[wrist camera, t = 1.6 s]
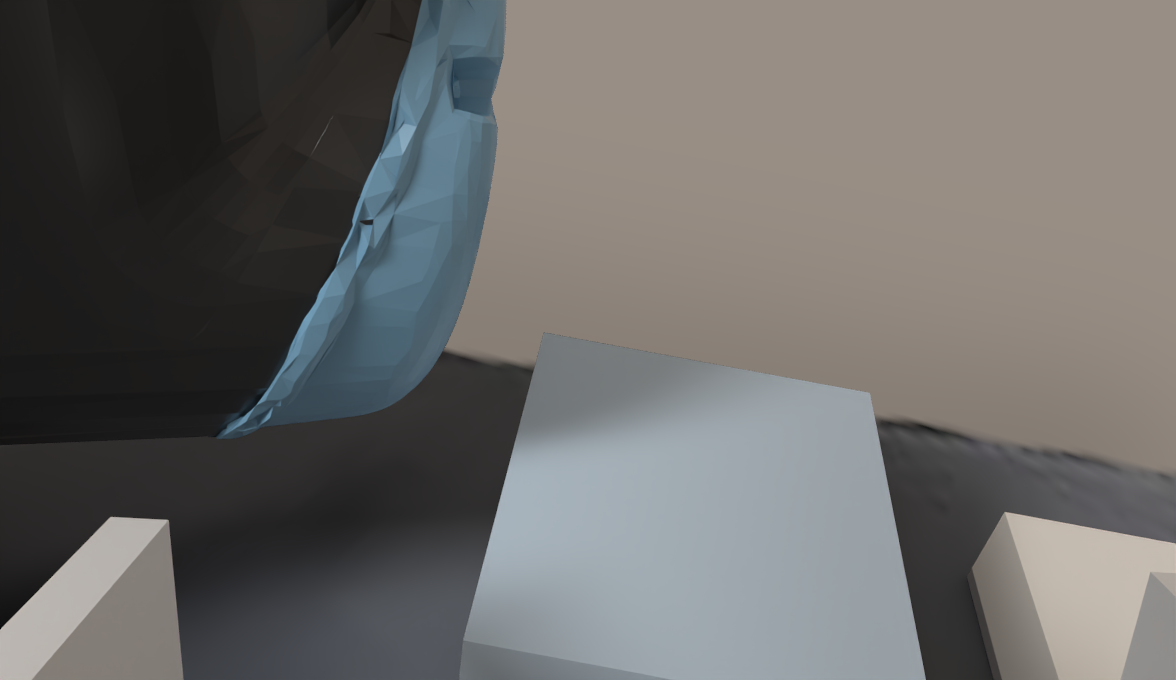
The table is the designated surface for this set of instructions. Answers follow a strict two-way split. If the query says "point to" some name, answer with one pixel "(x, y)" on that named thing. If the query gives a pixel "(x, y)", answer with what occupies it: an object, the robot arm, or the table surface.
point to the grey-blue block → (690, 530)
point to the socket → (1061, 597)
